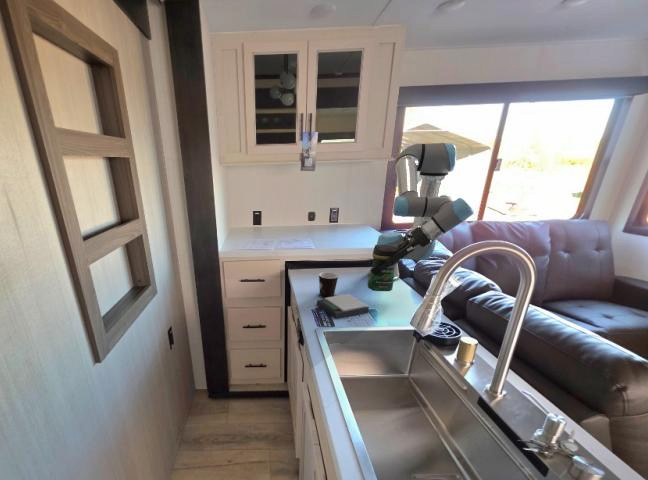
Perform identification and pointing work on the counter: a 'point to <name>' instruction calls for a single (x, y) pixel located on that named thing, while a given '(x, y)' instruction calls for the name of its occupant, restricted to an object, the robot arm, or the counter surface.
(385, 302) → the counter surface
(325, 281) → the coffee mug
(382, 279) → the coffee jar
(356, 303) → the kitchen scale
